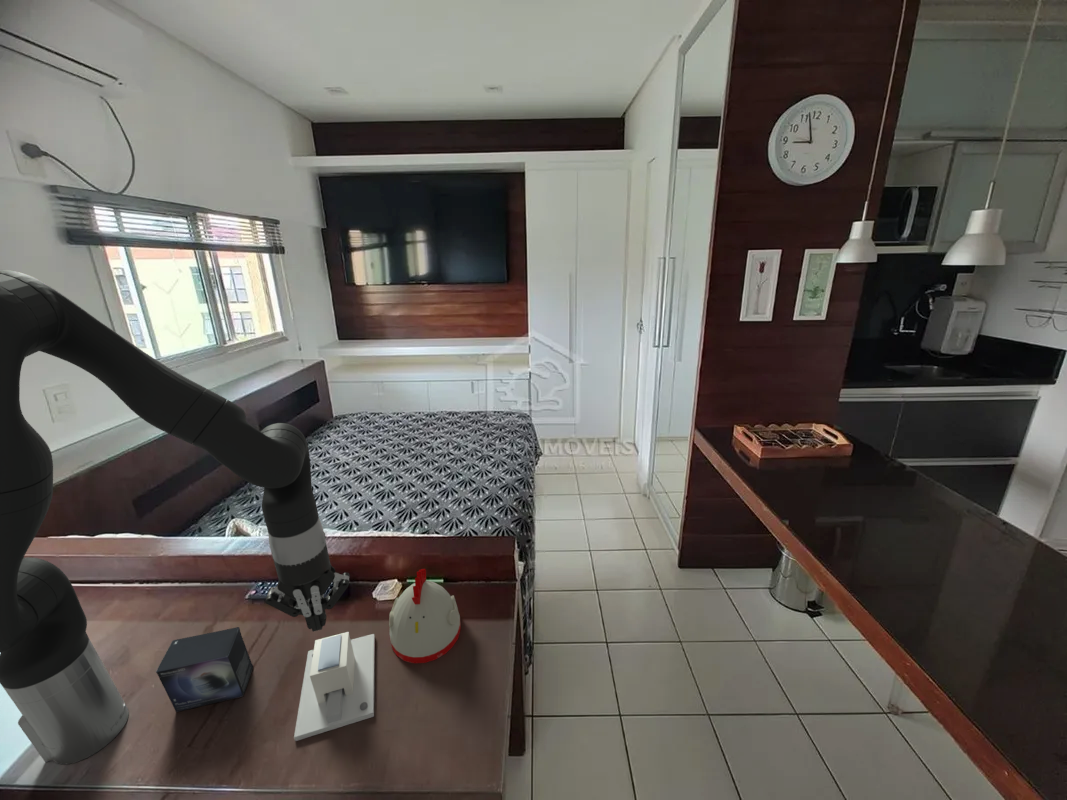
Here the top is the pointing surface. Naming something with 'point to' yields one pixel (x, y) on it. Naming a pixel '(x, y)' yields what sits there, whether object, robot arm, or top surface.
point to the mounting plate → (351, 702)
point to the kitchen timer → (423, 621)
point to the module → (332, 666)
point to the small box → (205, 669)
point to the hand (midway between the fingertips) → (318, 626)
